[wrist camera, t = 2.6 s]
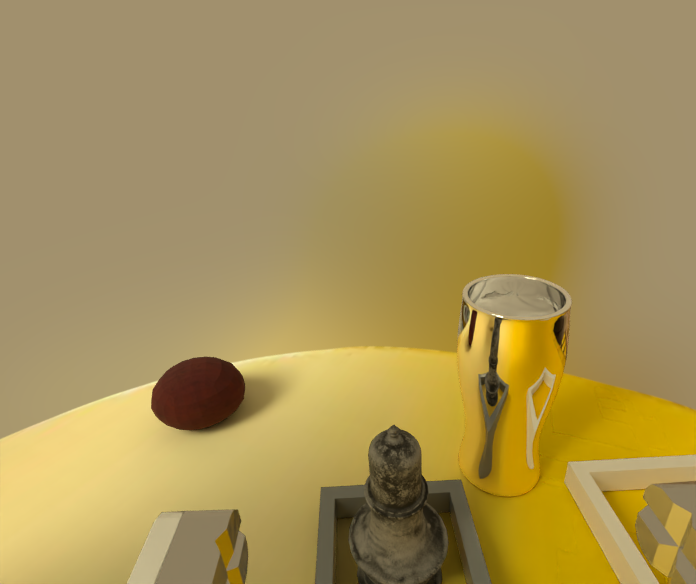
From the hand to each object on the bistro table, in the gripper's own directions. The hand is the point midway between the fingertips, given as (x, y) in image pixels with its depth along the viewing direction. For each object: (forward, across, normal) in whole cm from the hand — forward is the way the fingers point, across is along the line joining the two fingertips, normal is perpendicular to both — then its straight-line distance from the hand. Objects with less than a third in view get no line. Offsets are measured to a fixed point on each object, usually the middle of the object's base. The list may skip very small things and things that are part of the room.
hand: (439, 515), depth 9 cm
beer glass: (+19, -9, +20) cm, 29 cm away
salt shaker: (+11, 0, +20) cm, 23 cm away
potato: (+27, +17, +20) cm, 38 cm away
